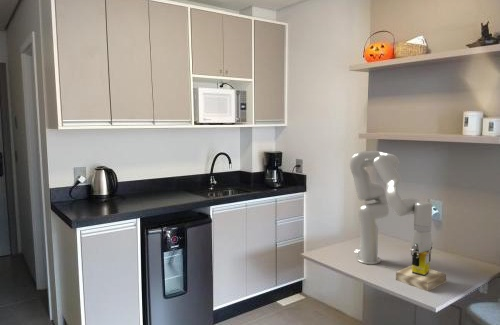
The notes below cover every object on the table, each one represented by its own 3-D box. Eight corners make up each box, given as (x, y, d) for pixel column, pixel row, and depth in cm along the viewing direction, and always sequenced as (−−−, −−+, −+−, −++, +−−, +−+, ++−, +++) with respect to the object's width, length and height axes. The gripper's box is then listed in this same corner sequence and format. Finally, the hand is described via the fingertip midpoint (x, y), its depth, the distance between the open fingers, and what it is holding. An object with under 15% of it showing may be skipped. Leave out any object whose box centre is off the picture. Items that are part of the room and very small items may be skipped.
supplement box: (416, 269, 185) (416, 247, 183) (429, 272, 181) (429, 250, 179) (411, 273, 180) (412, 250, 179) (424, 276, 176) (425, 253, 175)
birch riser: (395, 279, 183) (396, 271, 182) (414, 271, 192) (414, 264, 192) (427, 291, 170) (428, 282, 169) (446, 282, 179) (446, 274, 179)
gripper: (424, 223, 186) (423, 257, 188) (404, 229, 176) (403, 265, 178) (439, 226, 180) (438, 261, 182) (419, 233, 170) (418, 269, 172)
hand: (421, 263), depth 180 cm, fingers open, 9 cm apart
